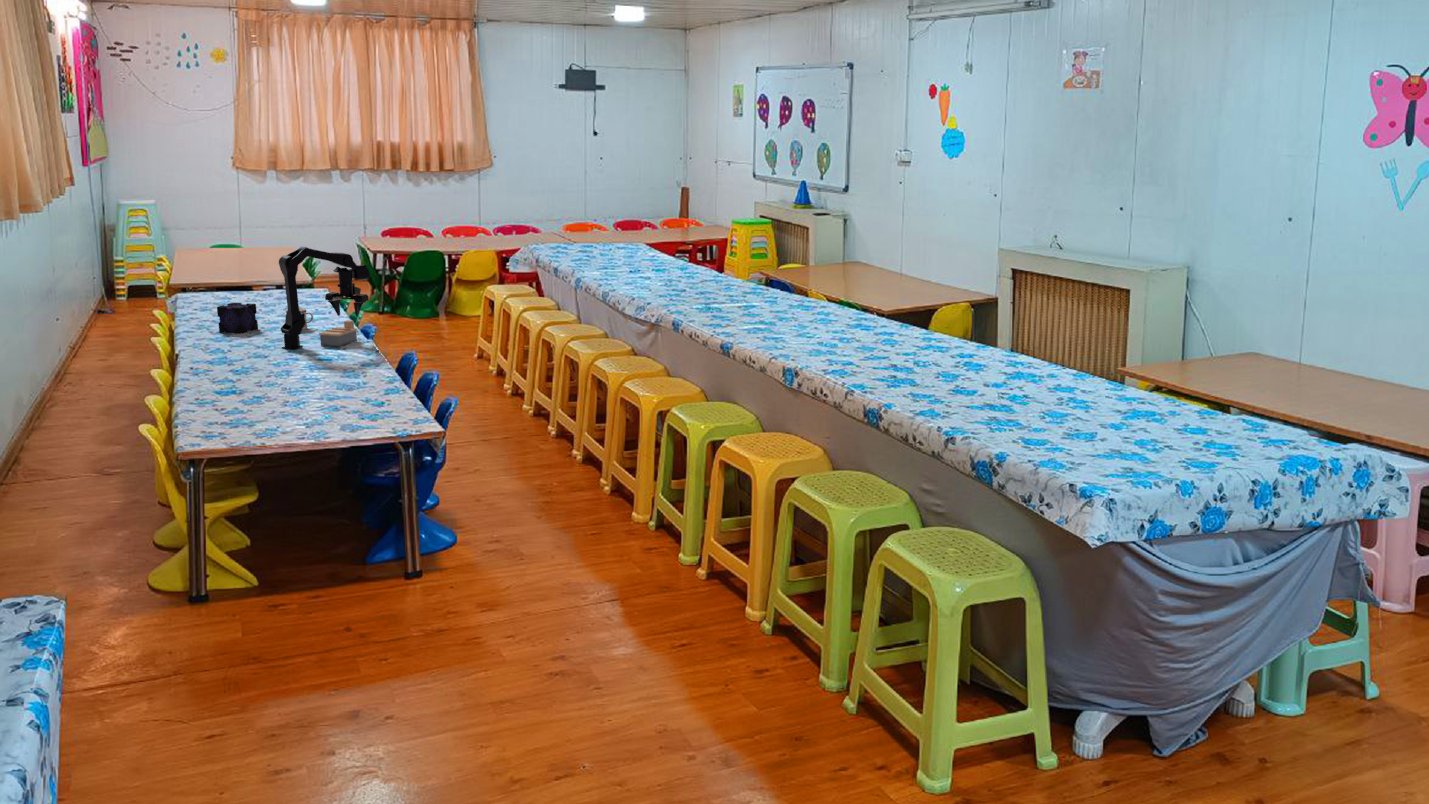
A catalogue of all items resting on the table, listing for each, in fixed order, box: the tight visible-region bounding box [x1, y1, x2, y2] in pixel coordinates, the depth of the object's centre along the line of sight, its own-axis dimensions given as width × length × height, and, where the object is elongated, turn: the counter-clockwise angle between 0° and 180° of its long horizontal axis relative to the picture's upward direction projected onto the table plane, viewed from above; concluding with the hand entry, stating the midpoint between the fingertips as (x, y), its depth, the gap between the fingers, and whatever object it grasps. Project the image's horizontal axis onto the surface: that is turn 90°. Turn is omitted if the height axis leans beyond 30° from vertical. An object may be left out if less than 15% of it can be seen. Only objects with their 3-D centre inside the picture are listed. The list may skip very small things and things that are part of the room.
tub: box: [319, 330, 358, 348], centre depth 508 cm, size 14×9×5 cm, turn 165°
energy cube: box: [216, 302, 259, 335], centre depth 532 cm, size 12×12×12 cm
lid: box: [318, 319, 358, 336], centre depth 508 cm, size 17×10×4 cm, turn 165°
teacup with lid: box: [285, 306, 314, 331], centre depth 538 cm, size 12×9×12 cm
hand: (348, 316), depth 514 cm, fingers open, 9 cm apart
